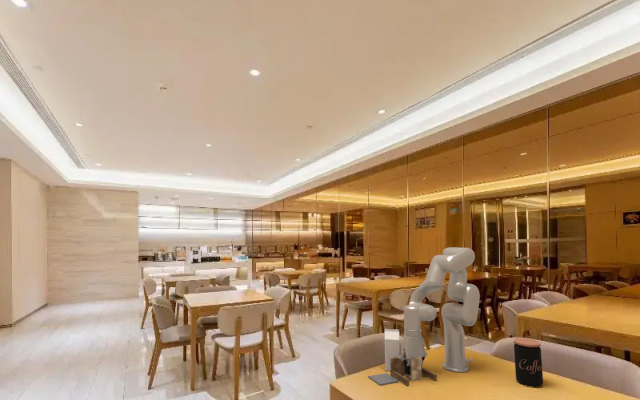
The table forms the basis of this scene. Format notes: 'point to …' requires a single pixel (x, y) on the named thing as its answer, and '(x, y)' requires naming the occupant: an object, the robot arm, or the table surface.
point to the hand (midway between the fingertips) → (413, 372)
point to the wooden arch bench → (399, 370)
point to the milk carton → (391, 346)
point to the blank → (415, 369)
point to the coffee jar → (528, 362)
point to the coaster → (383, 379)
